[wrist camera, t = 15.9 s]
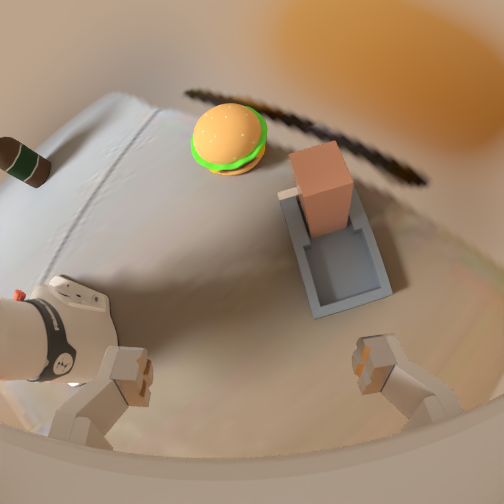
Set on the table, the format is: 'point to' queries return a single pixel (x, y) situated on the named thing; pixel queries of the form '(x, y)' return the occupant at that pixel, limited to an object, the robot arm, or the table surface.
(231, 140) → the hamburger
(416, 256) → the table surface
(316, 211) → the post
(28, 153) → the beer bottle
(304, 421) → the table surface
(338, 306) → the slot board
